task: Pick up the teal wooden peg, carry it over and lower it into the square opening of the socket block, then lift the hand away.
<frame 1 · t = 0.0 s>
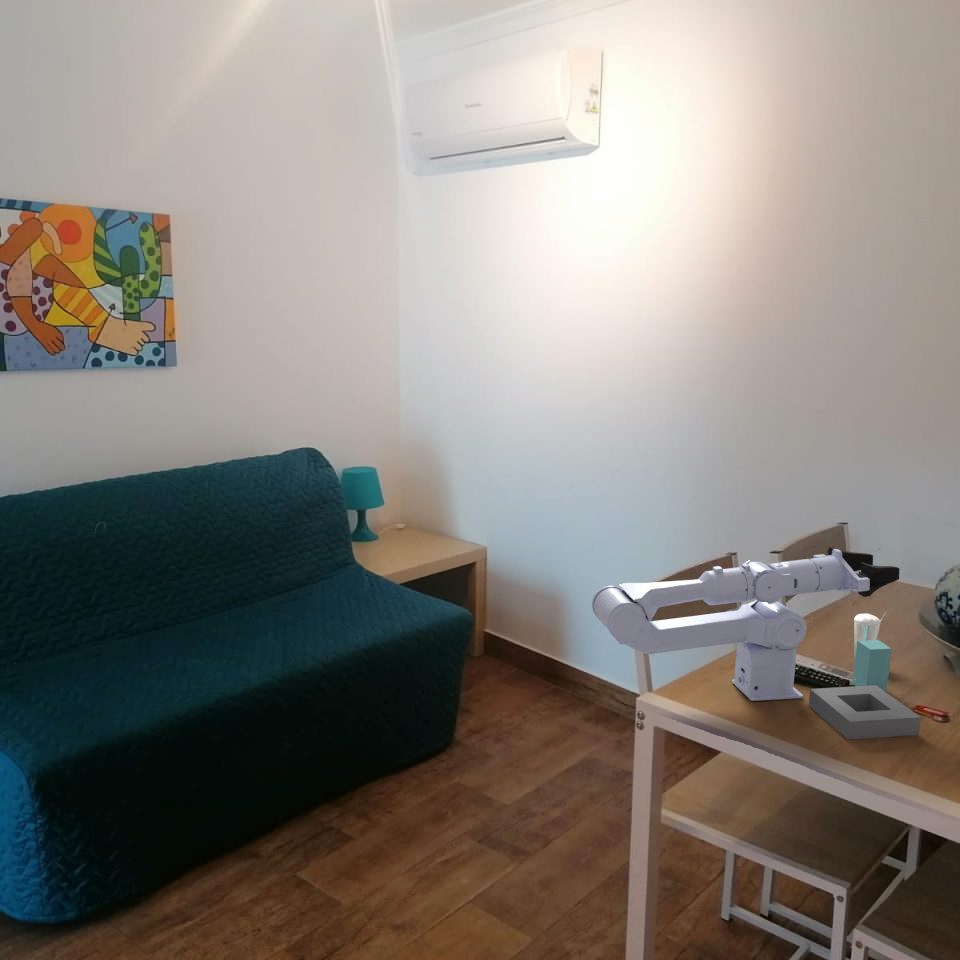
hand: (884, 566, 159), 22 cm above the table, tool horizontal, fingers open, 7 cm apart
socket block: (861, 719, 150), on the table
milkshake: (865, 662, 174), on the table
peg: (869, 687, 163), on the table
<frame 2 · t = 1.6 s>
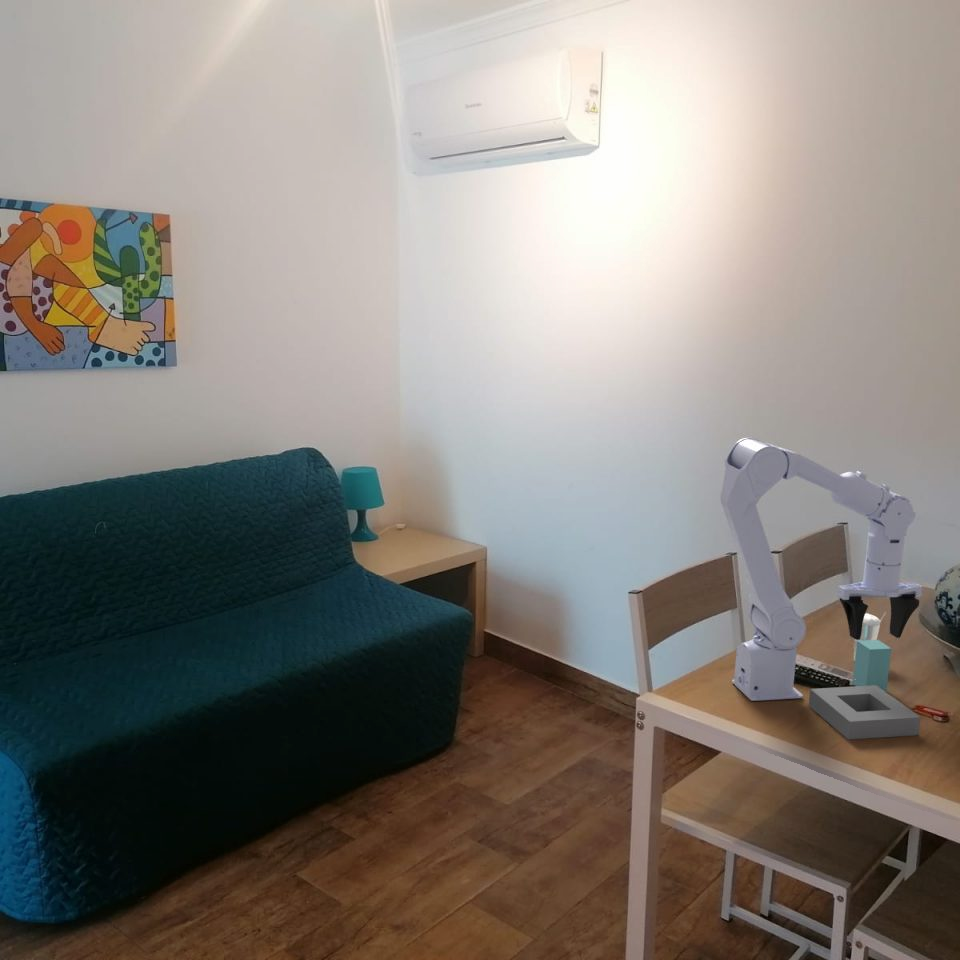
hand: (875, 636, 161), 9 cm above the table, tool pointing down, fingers open, 7 cm apart
nothing on the table moved.
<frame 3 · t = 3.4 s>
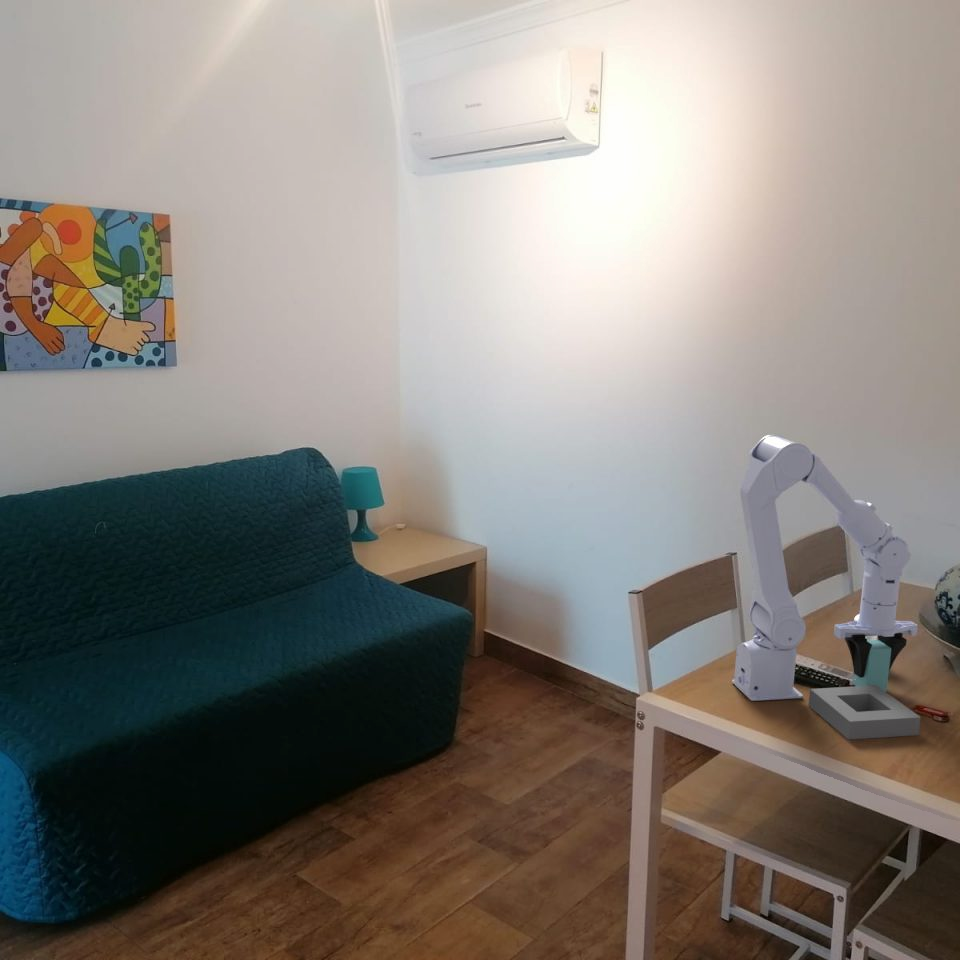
hand: (870, 674, 162), 2 cm above the table, tool pointing down, fingers closed on peg, 4 cm apart
peg: (869, 687, 163), on the table, touching gripper
everything else where it was.
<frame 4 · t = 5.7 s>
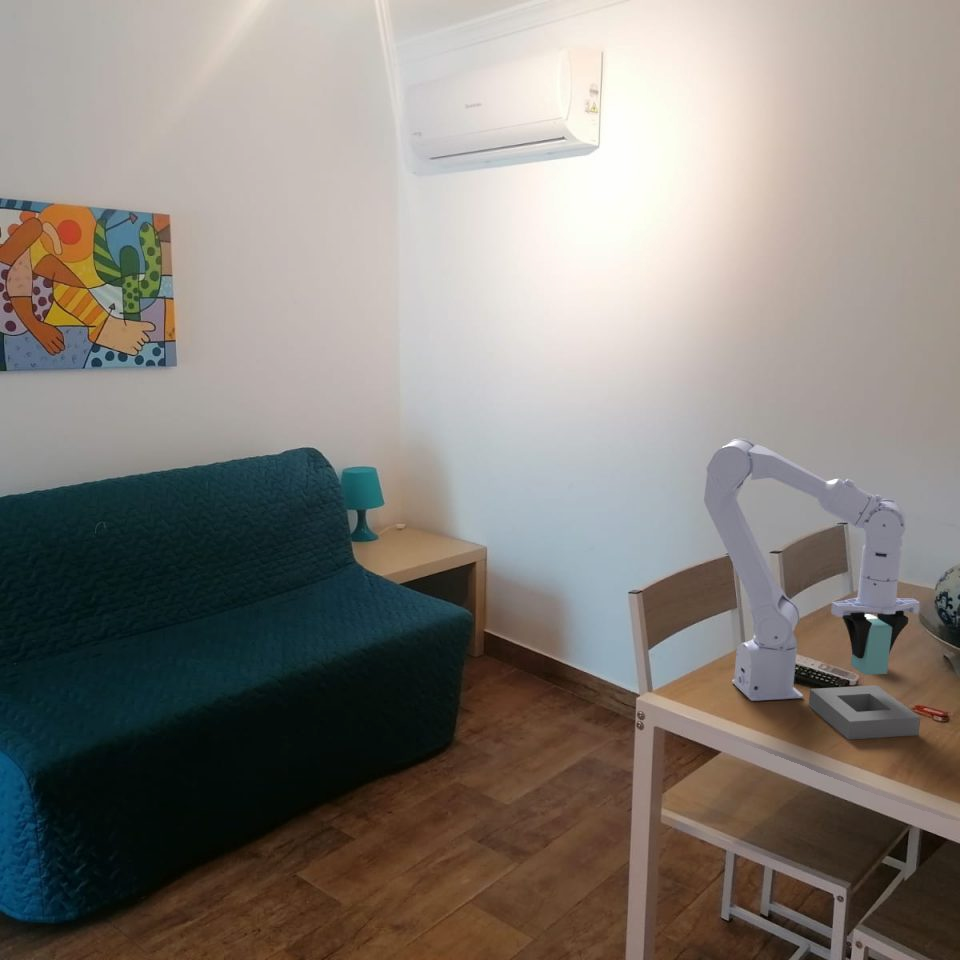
hand: (870, 655, 152), 9 cm above the table, tool pointing down, fingers closed on peg, 4 cm apart
peg: (868, 669, 153), point 7 cm above the table, touching gripper
everything else where it was.
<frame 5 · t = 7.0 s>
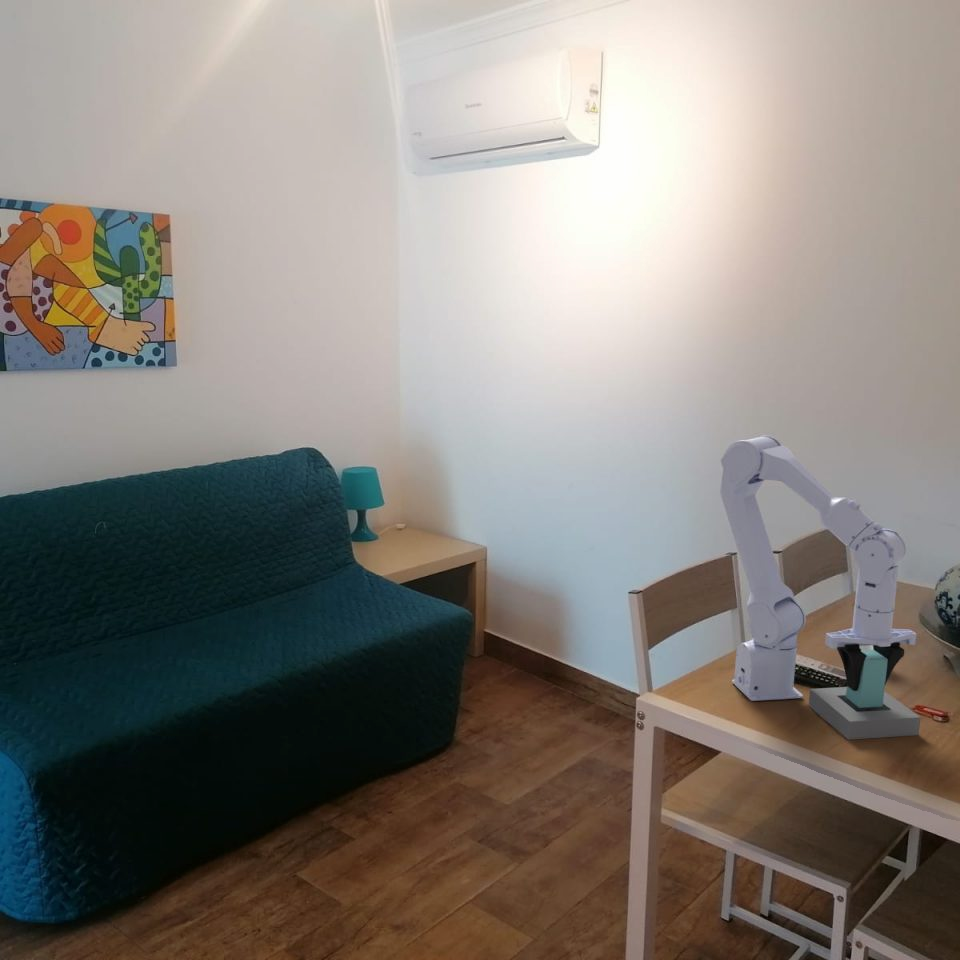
hand: (865, 687, 149), 6 cm above the table, tool pointing down, fingers closed on peg, 4 cm apart
peg: (863, 701, 149), point 3 cm above the table, touching gripper
everything else where it was.
when the fingers open (4 cm above the table, at t = 8.1 s): peg drops 2 cm, resting in socket block.
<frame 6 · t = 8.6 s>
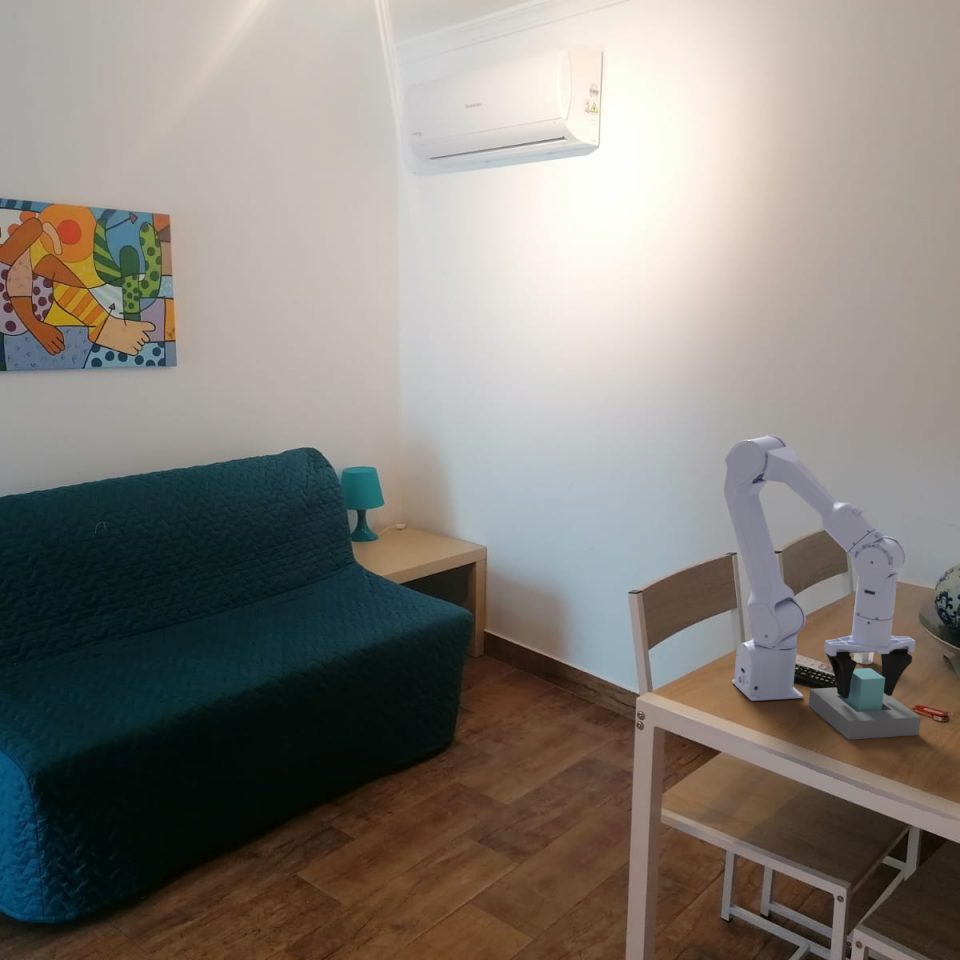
hand: (864, 694, 149), 4 cm above the table, tool pointing down, fingers open, 7 cm apart
peg: (861, 720, 150), resting in socket block
everything else where it was.
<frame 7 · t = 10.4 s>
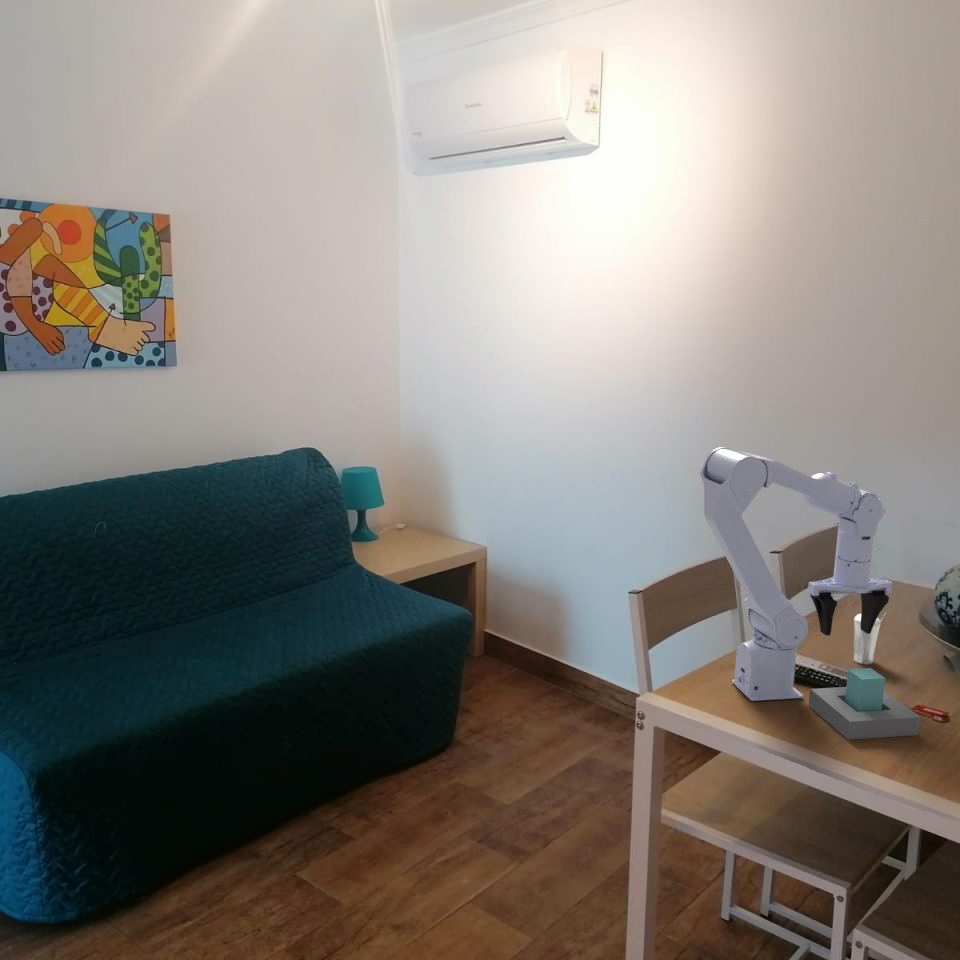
hand: (845, 632, 162), 9 cm above the table, tool pointing down, fingers open, 7 cm apart
nothing on the table moved.
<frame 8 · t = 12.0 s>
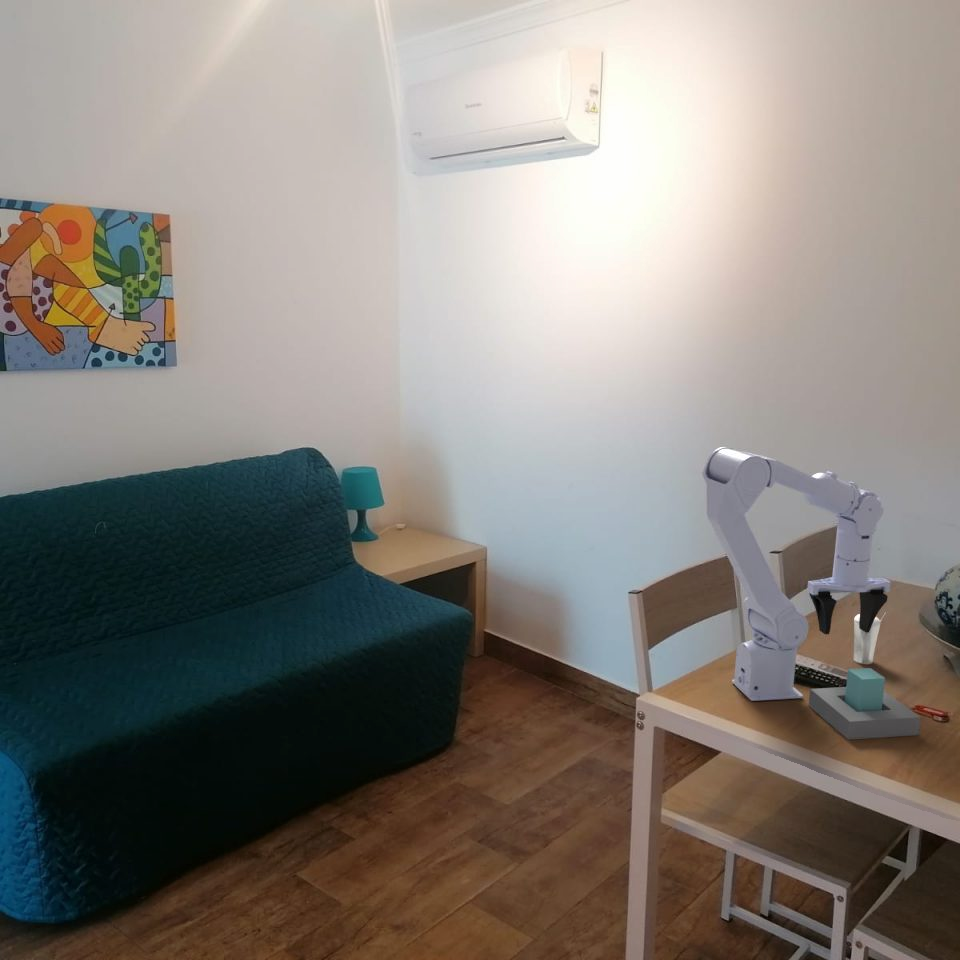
hand: (844, 631, 163), 9 cm above the table, tool pointing down, fingers open, 7 cm apart
nothing on the table moved.
at the end: peg 0.0 cm off-centre on the socket block, point 0.0 cm above the socket block's base; peg tilted 0°; the gripper is holding nothing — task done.
